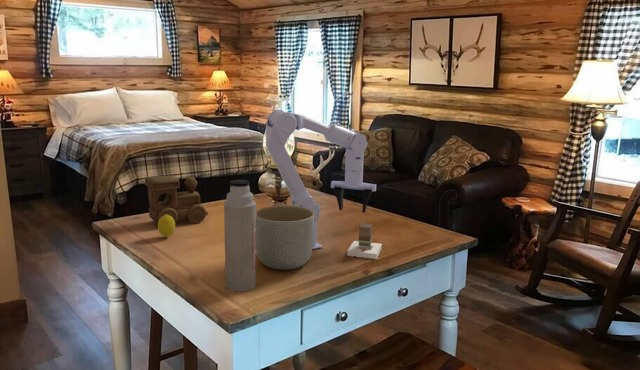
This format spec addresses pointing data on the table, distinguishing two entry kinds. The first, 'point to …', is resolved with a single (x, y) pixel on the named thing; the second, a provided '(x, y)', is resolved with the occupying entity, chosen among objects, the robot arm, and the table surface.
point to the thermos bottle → (240, 237)
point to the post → (365, 234)
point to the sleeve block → (364, 250)
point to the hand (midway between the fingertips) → (352, 210)
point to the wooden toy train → (174, 199)
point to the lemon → (166, 225)
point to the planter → (284, 236)
